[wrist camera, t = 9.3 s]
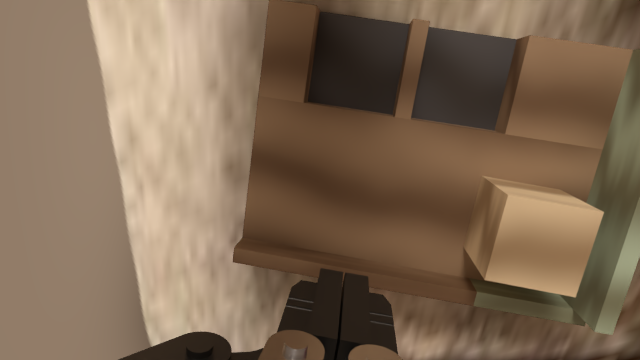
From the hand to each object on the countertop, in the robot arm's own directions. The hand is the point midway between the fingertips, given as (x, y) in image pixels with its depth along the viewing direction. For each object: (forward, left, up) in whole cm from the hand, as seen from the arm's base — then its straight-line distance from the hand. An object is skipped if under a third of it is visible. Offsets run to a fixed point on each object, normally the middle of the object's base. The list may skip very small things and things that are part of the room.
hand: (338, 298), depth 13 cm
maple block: (0, +11, -16) cm, 19 cm away
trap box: (-3, +4, -18) cm, 19 cm away
